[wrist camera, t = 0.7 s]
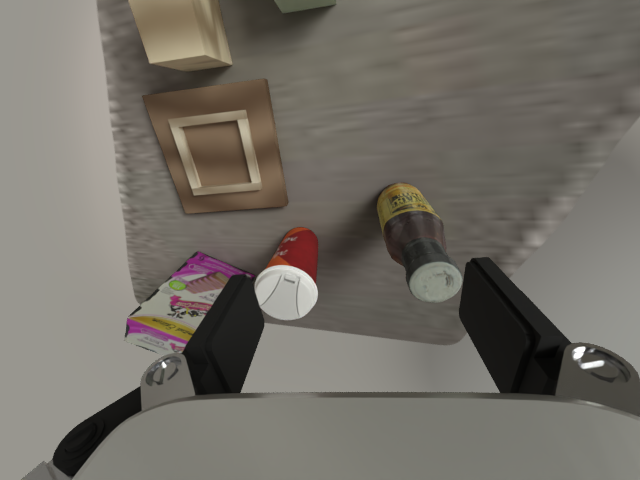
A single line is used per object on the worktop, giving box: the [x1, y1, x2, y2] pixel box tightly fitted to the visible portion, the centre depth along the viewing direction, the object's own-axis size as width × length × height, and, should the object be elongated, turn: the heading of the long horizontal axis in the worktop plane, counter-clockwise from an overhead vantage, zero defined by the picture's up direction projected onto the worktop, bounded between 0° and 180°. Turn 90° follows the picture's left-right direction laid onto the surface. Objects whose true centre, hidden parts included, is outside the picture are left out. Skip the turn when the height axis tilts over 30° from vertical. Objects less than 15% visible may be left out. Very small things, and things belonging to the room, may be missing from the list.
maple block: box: [128, 0, 232, 72], centre depth 27 cm, size 6×6×7 cm
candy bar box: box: [124, 251, 255, 356], centre depth 39 cm, size 11×5×16 cm, turn 65°
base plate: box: [142, 79, 288, 214], centre depth 35 cm, size 16×16×2 cm
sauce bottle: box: [377, 183, 462, 303], centre depth 29 cm, size 7×6×20 cm
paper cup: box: [254, 227, 318, 320], centre depth 36 cm, size 8×8×14 cm
